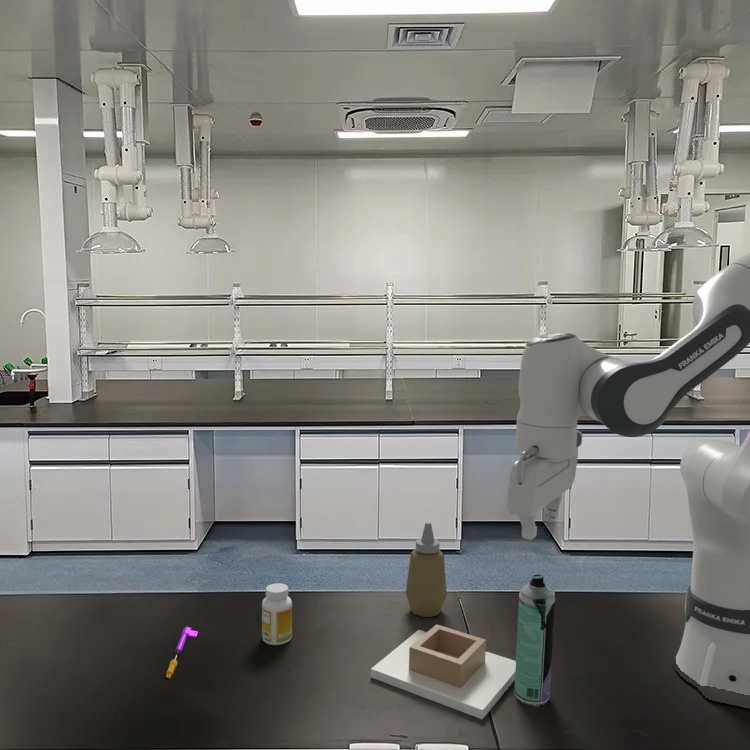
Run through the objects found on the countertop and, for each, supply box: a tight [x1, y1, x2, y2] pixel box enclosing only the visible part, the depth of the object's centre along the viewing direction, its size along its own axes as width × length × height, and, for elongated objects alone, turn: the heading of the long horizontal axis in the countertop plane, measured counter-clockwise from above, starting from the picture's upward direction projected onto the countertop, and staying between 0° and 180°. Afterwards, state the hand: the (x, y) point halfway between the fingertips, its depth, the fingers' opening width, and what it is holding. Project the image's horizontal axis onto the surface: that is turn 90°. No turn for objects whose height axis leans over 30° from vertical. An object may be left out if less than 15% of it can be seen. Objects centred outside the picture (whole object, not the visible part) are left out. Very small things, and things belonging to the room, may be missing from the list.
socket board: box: [370, 624, 516, 720], centre depth 119 cm, size 20×16×6 cm
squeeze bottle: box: [405, 522, 448, 618], centre depth 140 cm, size 8×8×18 cm
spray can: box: [514, 574, 556, 705], centre depth 112 cm, size 6×6×20 cm
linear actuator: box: [165, 626, 199, 679], centre depth 124 cm, size 3×1×16 cm
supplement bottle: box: [261, 582, 293, 646], centre depth 129 cm, size 5×5×10 cm
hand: (540, 528), depth 110 cm, fingers open, 8 cm apart
